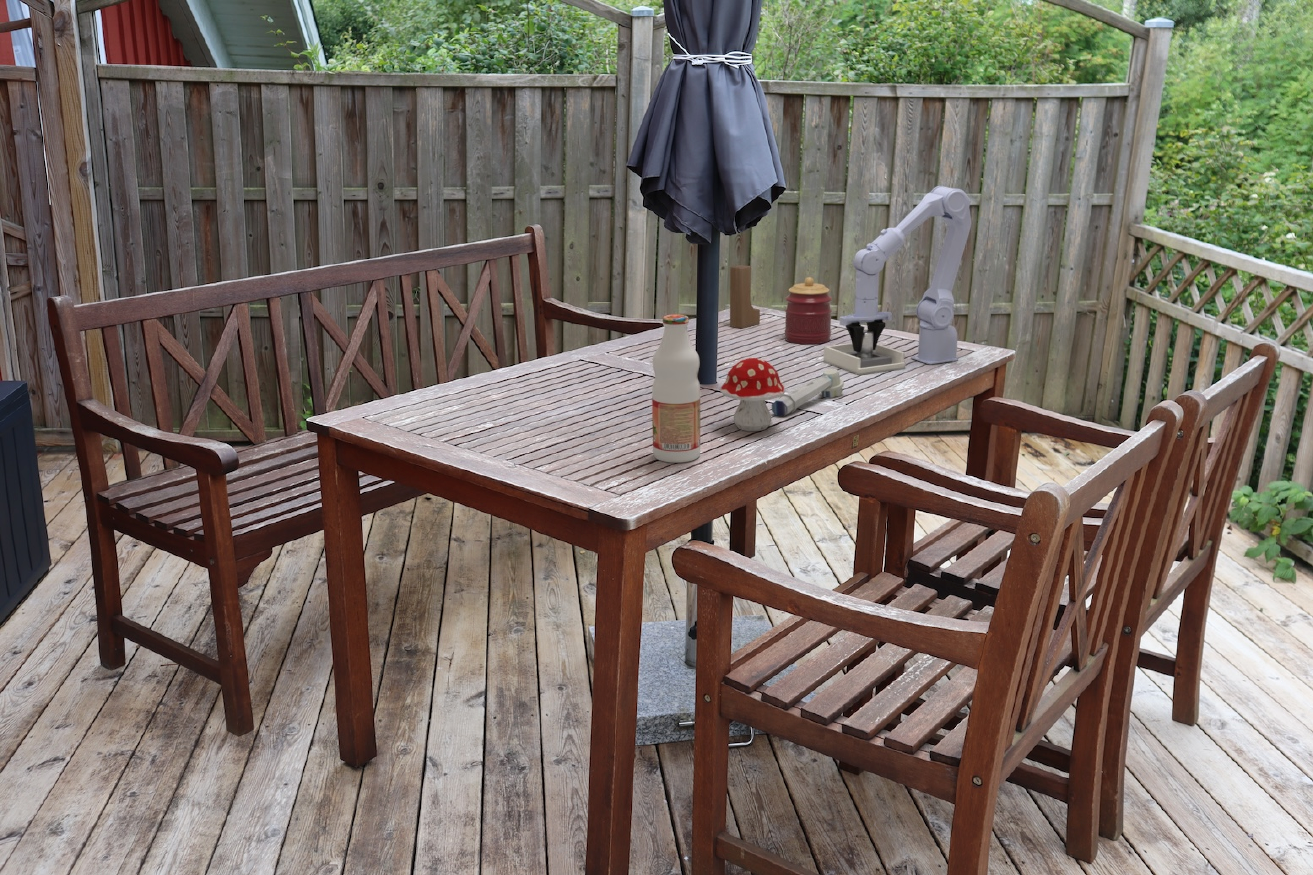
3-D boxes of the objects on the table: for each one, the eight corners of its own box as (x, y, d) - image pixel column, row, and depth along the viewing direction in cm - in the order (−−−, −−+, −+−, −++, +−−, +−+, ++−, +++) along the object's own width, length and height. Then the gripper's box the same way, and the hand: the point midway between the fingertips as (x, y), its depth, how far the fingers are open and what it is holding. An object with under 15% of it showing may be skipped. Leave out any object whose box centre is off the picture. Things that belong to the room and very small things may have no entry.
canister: (786, 345, 324) (787, 281, 318) (782, 334, 336) (784, 273, 331) (833, 344, 323) (835, 281, 318) (828, 334, 336) (830, 273, 330)
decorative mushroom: (764, 441, 241) (765, 369, 236) (707, 430, 248) (707, 361, 244) (796, 424, 251) (798, 356, 247) (741, 414, 259) (741, 348, 255)
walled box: (868, 355, 310) (868, 340, 309) (905, 368, 297) (906, 353, 295) (823, 361, 305) (823, 346, 303) (859, 375, 291) (859, 359, 290)
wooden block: (748, 322, 353) (749, 262, 348) (760, 324, 350) (761, 264, 345) (729, 327, 347) (729, 266, 342) (741, 329, 344) (741, 267, 339)
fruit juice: (675, 467, 225) (674, 323, 217) (643, 456, 232) (640, 316, 224) (710, 456, 232) (710, 316, 223) (677, 445, 238) (676, 309, 230)
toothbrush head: (768, 398, 258) (827, 361, 275) (770, 426, 261) (829, 387, 278) (788, 402, 255) (847, 364, 272) (789, 430, 257) (848, 391, 275)
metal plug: (866, 355, 302) (867, 328, 300) (875, 359, 299) (877, 332, 297) (853, 357, 301) (854, 330, 298) (862, 360, 297) (864, 334, 295)
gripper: (880, 292, 302) (878, 344, 306) (833, 297, 296) (831, 350, 300) (897, 296, 296) (894, 349, 300) (849, 302, 290) (847, 355, 294)
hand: (864, 350), depth 299 cm, fingers closed on metal plug, 4 cm apart
